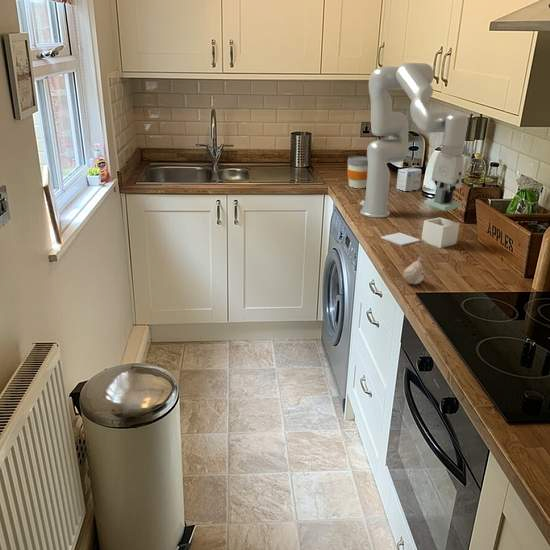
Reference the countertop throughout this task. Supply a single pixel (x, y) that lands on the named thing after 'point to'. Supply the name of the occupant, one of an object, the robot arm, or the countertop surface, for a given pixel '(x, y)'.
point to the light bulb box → (408, 179)
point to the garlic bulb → (414, 272)
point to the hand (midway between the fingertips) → (443, 200)
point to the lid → (442, 201)
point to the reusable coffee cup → (357, 171)
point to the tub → (440, 232)
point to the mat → (400, 239)
